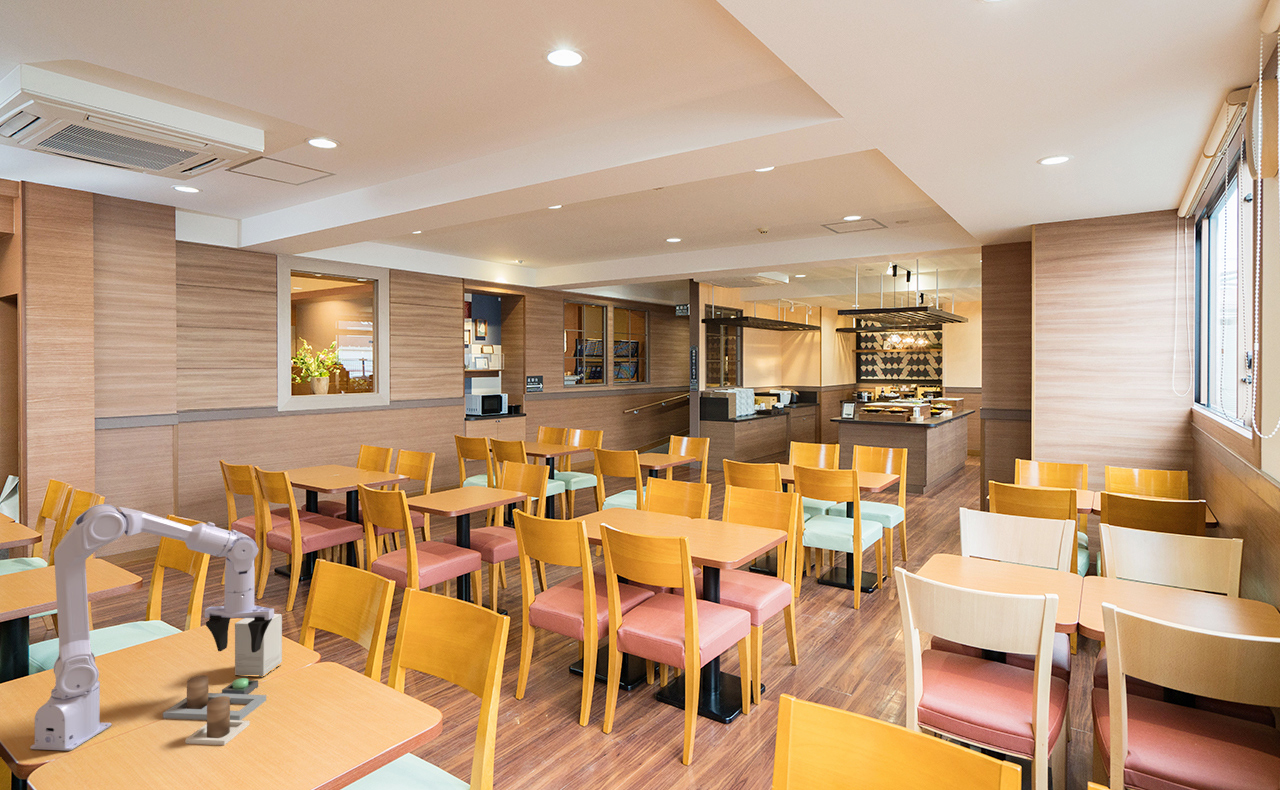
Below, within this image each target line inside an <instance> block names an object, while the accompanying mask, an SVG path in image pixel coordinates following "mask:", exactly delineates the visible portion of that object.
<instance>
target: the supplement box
mask: <svg viewBox="0 0 1280 790" xmlns="http://www.w3.org/2000/svg"><path fill="white" fill-rule="evenodd" d="M282 616H283V615H282V614H281V613H274V617H273V618H272V620H271V622H270V623H269V625H268V627H267V629H266V632H265V634H264V637H263V640H262V644H261V648H260V650H258V651H257V652H252V650H251V634H250V629H249V626H248V623H249V622H251V621H253V620H254V618H241V619H240V620H239V621H238V620H237V622H235V623H234V676H235V675H259V676H263V675H265V674H266V673H268V672H269V671H270V670H272V669H273V668H275V667H276V666H277V665H278V664H280V663H281V662H282V663H283V617H282Z"/></svg>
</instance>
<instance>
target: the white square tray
mask: <svg viewBox="0 0 1280 790" xmlns="http://www.w3.org/2000/svg"><path fill="white" fill-rule="evenodd" d="M250 723H251V722H250V720H243V719H242V720H230V732H229V734H227V735H226V736H224V737H221V738H207V723H205V724H204V725H203V726H201V727H200V728H199V729H197V730H196V731H194V732H193V733H192V734H191V735H189V736H188V737H187V738H185V742H184V743H185V744H186V745H187V744H188V745H208V746H209V745H211V746H226V745H227V744H228V743H229V742H231V740H233V739H234V738H235V737H237V736H238V735H239V734H241V732H243V731H244V730H245V729H246V728H247V727H249V726H250Z"/></svg>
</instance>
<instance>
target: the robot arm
mask: <svg viewBox="0 0 1280 790" xmlns="http://www.w3.org/2000/svg"><path fill="white" fill-rule="evenodd" d="M119 509H120V510H119ZM119 509H118V508H117V507H115V506H113V505H112V504H108V503H100V504H96V505H93V506H91V507H90V508H88V509H86V510H85V511H83V512H82V513H81V514H80V515H78V516H77V517H76V518H75V519H74V521H73V523H72V525H70V528H69V529H68V530H67V531H66V533H65V534H64V536H63V538H62V539H61V540H60V541H59V542H58V544H57V546H56V547H55V549H54V551H53V552H54V553H53V561H54V577H55V593H56V596H55V597H56V610H57V626H58V627H57V629H58V656H57V658H56V660H55V662H54V664H53V674H54V675H55V685H54V688H53V689H51V692H50V694H51V695H50V697H49V698H48V700H47V701H46V702H45V703H44V704H43V705H42V706H40V707H39V708H38V709H37V711H36V713H35V715H34V744H32V745H31V746H30V749H31V750H47V751H68V752H69V751H72V750H74V749H77V748H78V747H79V746H80V745H82V744H84V743H86V742H87V741H89V740H91V739H92V738H94V737H96V736H97V735H98V734H100V733H101V732H103V731H105V730H107V729H108V728H110V727H111V726H112V723H111V722H100V719H101V718H100V713H101V712H100V711H101V710H100V709H101V708H100V707H101V705H100V702H101V700H100V695H101V691H100V690H101V689H100V688H101V687H100V685H101V682H100V680H99V676H100V671H99V668H98V667H97V664H96V657H95V655H94V653H93V652H92V649H91V640H90V638H91V637H90V623H89V622H90V621H89V618H90V617H89V606H88V604H89V602H88V588H87V587H88V585H87V567H86V565H87V564H86V561H87V559H88V558H90V557H91V556H92V555H93V554H95V552H96V551H98V550H99V549H100V548H102V547H104V546H106V545H108V544H111V543H113V542H115V541H117V540H118V539H120V538H121V537H122V536H123V534H125V535H126V537H130V536H131V537H132V536H134V535H138V534H140V533H147V534H151V535H157V536H161V537H165V538H168V539H172V540H173V539H174V540H177V541H182V542H185V545H186V548H187V549H188V550H190V551H194V552H198V553H201V554H202V553H203V554H206V555H209V556H214V557H219V558H222V557H225V560H224V561H225V568H224V604H223V605H219V606H209V607H206V608H205V609H204V618H205V619H208V620H207V621H206V622H205V626H206V627H207V629H208V630H209V631H210V633H211V634H212V637H213V639H214V642H215V645H216V647H217V651H218V652H223V651H224V650H226V649H228V648H227V647H228V639H229V627H230V621H231V619H232V618H233V619H234V618H235V619H244V618H254V620H253V621H251V622H249V623H248V626H249V629H250V634H251V650H252V652H257V651H258V650H260V648H261V644H262V640H263V637H264V634H265V632H266V629H267V627H268V625H269V623H270V622H271V620H272V618H273V617H274V614H275V608H271V607H265V606H260V605H256V604H255V589H256V588H255V587H256V585H255V582H256V581H255V579H256V577H255V576H256V574H255V573H256V572H255V570H256V568H255V559H256V557H257V556H258V553H259V547H258V544H257V543H256V541H255V540H254V539H253V538H252V537H250V536H249V535H247V534H245V533H243V532H242V531H237V530H235V529H233V528H232V529H231V530H228V529H225V528H220V527H217V526H216V524H215V523H214V522H211V521H208V522H207V523H203V522H200V523H197V524H194V525H191V526H190V525H186V524H184V523H180V522H177V521H175V520H170V519H168V518H164V517H161V516H158V515H155V514H152V513H149V512H145V511H142V510H137V509H134V508H133V509H132V508H130V507H129V508H128V507H122V506H119Z"/></svg>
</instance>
